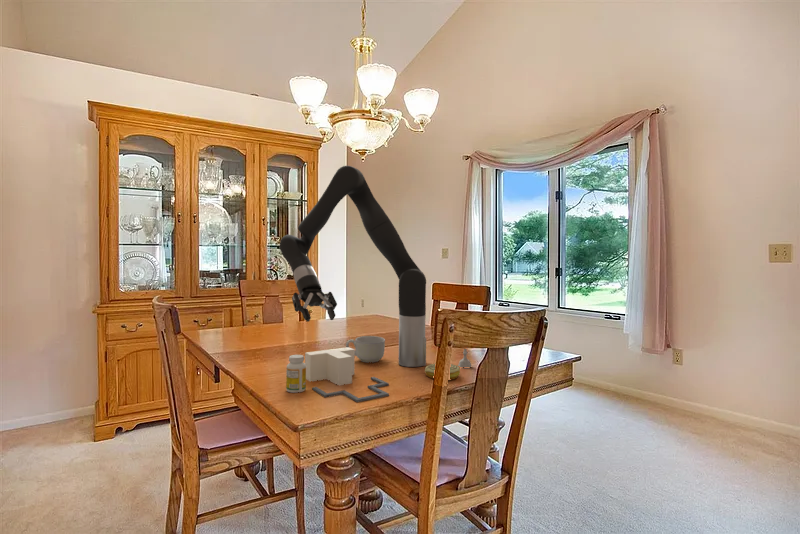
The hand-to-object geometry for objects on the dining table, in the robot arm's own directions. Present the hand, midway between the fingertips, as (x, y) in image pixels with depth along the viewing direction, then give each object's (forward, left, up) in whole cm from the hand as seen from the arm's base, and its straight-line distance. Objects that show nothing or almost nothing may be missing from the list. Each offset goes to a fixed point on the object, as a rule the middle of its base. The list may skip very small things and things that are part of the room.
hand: (321, 319), depth 144 cm
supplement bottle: (+5, +19, -17) cm, 26 cm away
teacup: (-15, -15, -17) cm, 27 cm away
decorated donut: (-39, +7, -17) cm, 43 cm away
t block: (-5, +9, -17) cm, 20 cm away
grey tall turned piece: (-49, -5, -17) cm, 52 cm away
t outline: (-12, +20, -17) cm, 29 cm away
